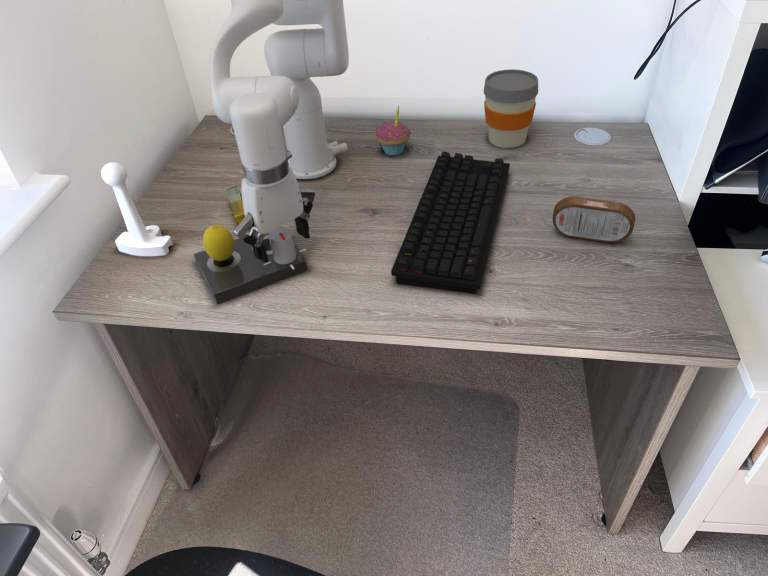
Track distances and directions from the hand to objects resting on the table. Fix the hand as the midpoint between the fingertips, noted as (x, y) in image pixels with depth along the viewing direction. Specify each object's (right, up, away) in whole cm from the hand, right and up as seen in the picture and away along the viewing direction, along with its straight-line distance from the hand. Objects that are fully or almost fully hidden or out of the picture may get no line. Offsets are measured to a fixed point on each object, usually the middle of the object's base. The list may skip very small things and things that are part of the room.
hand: (283, 247), depth 116 cm
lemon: (-12, -2, +2) cm, 12 cm away
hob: (-7, -4, +4) cm, 9 cm away
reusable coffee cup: (+49, +29, +35) cm, 67 cm away
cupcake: (+21, +26, +35) cm, 48 cm away
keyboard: (+34, +5, +10) cm, 36 cm away
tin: (+59, +2, +4) cm, 59 cm away
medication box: (-12, +8, +17) cm, 22 cm away
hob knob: (0, -2, +1) cm, 2 cm away
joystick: (-30, +1, +12) cm, 32 cm away
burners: (-8, -1, +3) cm, 8 cm away
